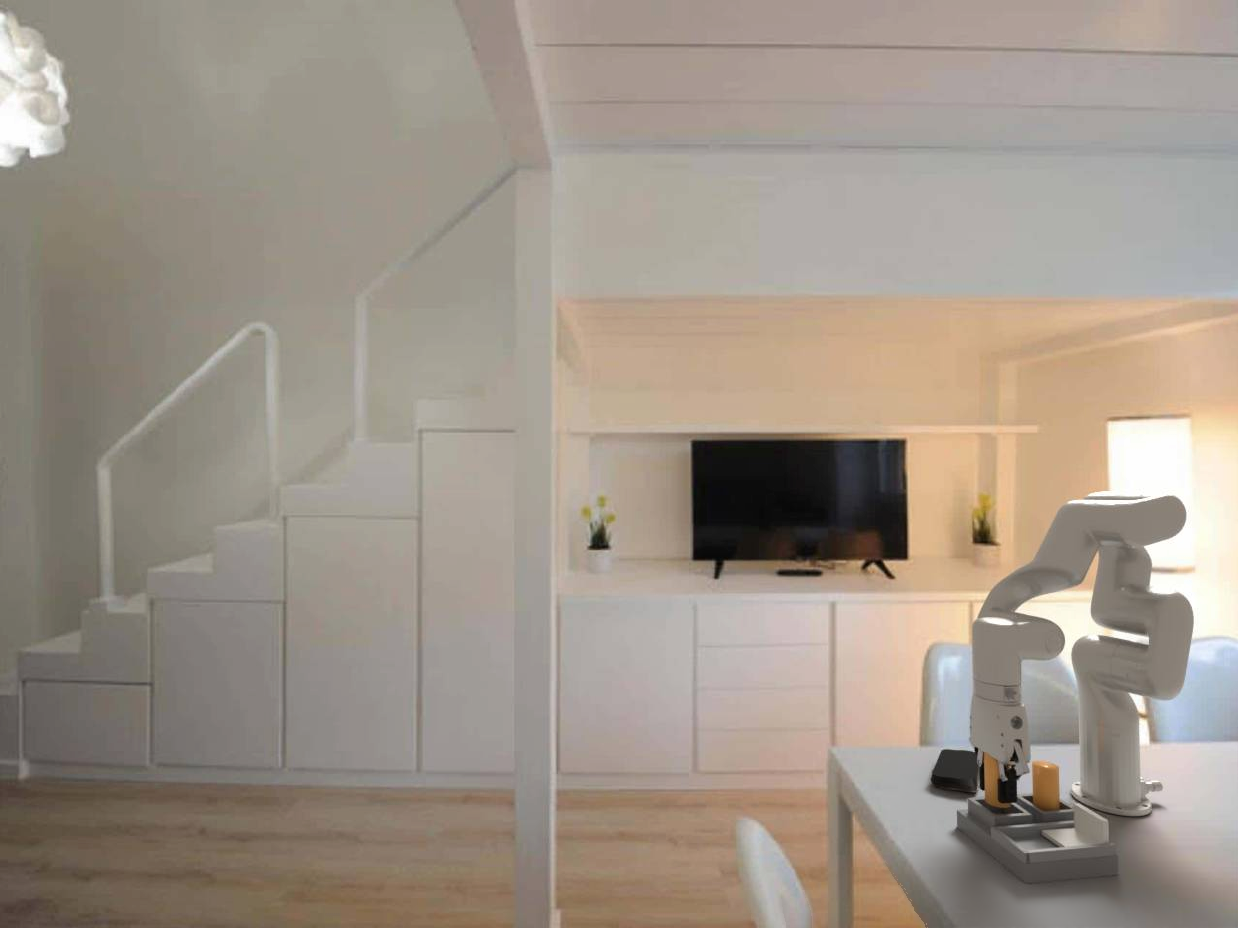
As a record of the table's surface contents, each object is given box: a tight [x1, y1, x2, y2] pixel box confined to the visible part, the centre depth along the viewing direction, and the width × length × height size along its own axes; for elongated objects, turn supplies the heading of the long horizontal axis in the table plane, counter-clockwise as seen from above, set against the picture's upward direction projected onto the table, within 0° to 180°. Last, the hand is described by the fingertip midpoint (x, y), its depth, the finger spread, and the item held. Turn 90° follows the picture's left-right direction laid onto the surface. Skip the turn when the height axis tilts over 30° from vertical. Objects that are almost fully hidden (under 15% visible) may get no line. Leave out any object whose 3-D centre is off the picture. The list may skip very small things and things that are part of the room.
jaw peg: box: [984, 752, 1011, 808], centre depth 117 cm, size 4×4×9 cm
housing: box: [956, 760, 1119, 884], centre depth 114 cm, size 18×17×12 cm
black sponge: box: [930, 748, 981, 793], centre depth 141 cm, size 16×8×4 cm, turn 147°
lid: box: [1042, 802, 1110, 847], centre depth 110 cm, size 7×6×5 cm
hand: (998, 794), depth 117 cm, fingers closed on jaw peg, 4 cm apart
